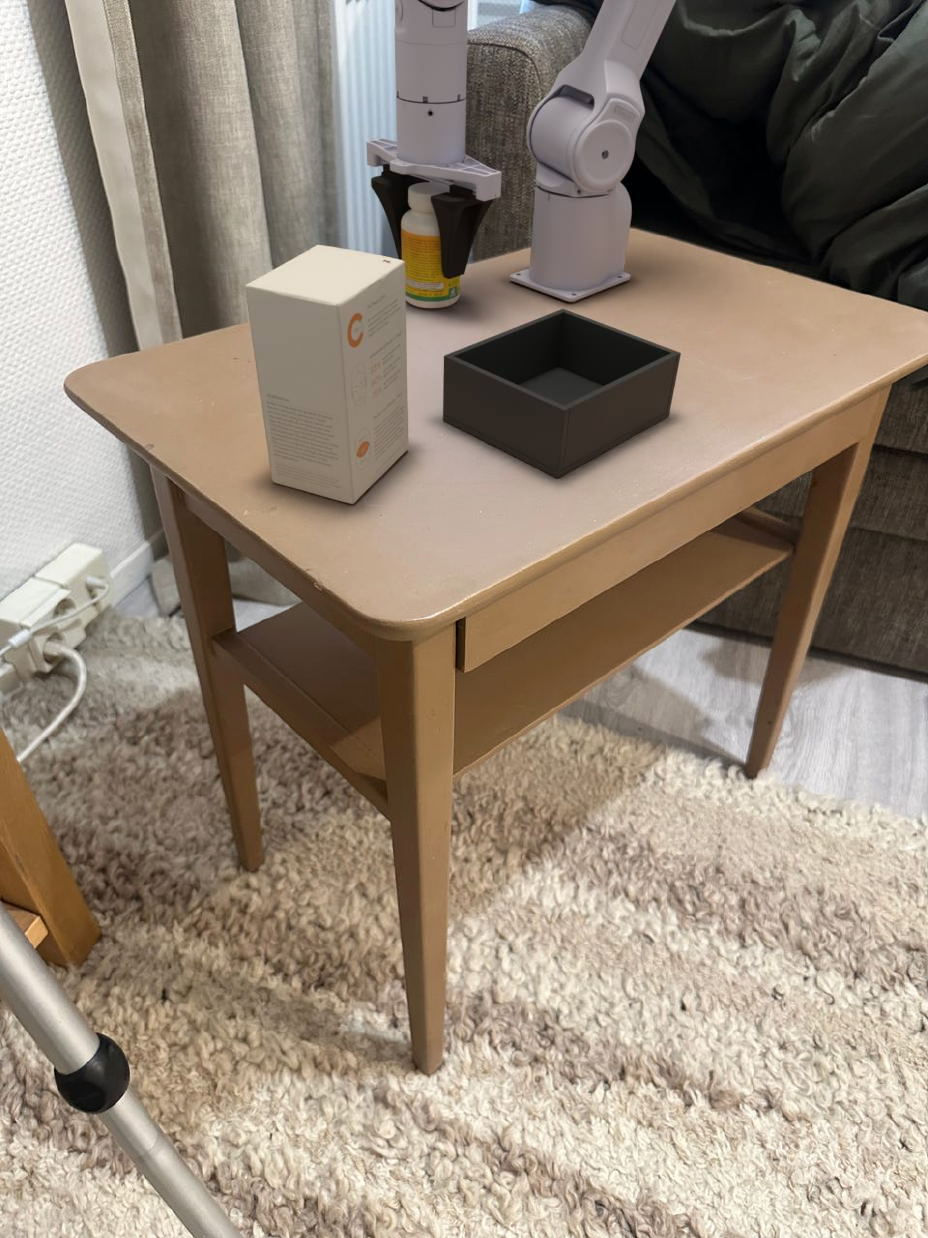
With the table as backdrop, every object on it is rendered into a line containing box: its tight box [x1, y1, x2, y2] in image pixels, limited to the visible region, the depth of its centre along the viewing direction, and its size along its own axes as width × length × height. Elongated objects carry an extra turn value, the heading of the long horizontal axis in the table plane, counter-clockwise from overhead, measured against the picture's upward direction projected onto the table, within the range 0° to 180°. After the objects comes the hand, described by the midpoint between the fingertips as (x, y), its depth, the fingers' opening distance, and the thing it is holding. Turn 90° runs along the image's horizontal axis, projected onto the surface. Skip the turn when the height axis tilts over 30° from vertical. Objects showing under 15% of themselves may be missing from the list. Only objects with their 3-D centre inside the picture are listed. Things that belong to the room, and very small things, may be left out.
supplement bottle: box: [401, 181, 461, 309], centre depth 80 cm, size 5×5×10 cm
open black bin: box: [442, 308, 682, 479], centre depth 65 cm, size 13×11×5 cm
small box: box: [244, 244, 410, 505], centre depth 56 cm, size 8×6×13 cm
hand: (430, 266), depth 82 cm, fingers closed on supplement bottle, 5 cm apart
